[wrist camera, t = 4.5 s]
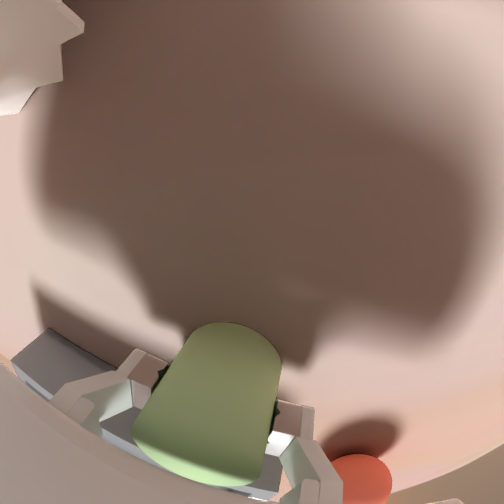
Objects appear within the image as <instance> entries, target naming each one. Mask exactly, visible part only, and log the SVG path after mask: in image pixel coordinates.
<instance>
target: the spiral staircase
mask: <svg viewBox="0 0 504 504" xmlns="http://www.w3.org/2000/svg"><path fill="white" fill-rule="evenodd" d="M84 25H85V22H84V21H83V20H82V19H81V18H80V17H79V16H77V15H76V14H75V13H74V12H73V11H72V10H71V9H70V8H69V7H67V6H66V5H65V4H64V3H63V2H62V0H0V116H2V115H9V114H18V113H19V112H20V111H21V109H22V108H23V106H24V104H25V103H26V101H27V100H28V99H29V97H30V96H31V94H32V93H33V91H34V90H35V89H36V88H37V87H41V86H44V85H48V84H52V83H56V82H60V81H63V65H62V50H61V44H62V43H64V42H66V41H68V40H70V39H72V38H74V37H76V36H78V35H80V34H82V33H84Z"/></svg>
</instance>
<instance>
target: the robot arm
mask: <svg viewBox="0 0 504 504" xmlns="http://www.w3.org/2000/svg"><path fill="white" fill-rule="evenodd" d="M169 367H170V363H168V362H166V361H164V360H161V359H159V358H157V357H155V356H153V355H151V354H149V353H146V352H144V351H142V350H140V349H138V348H136V349H135V350H133V351H132V353H131V354H130V355H129V356H128V357H127V359H126V360H125V361H124V362H123V363H122V364H121V366H120V367H119V368H118V369H117V370H116V372H115V371H113V370H112V371H108V372H105V373H101V374H98V375H94V376H91V377H87V378H84V379H80V380H76V381H73V382H69V383H65V384H64V385H63V386H62V387H61V389H60V390H59V391H58V392H57V393H56V394H55V395H54V396H53V397H52V398H51V399H50V400H49V401H48V402H47V401H46V400H44V399H43V398H42V397H41V396H39V395H38V394H37V393H36V392H35V391H33V390H32V389H31V388H30V387H29V386H27V385H26V384H25V383H24V382H23V381H22V380H21V379H19V378H18V377H17V376H16V375H15V374H14V373H13V372H12V371H11V370H10V369H9V368H8V367H6V365H4V363H2V362H1V361H0V504H342V502H343V481H342V479H341V478H340V476H339V475H338V473H337V472H336V470H335V469H334V467H333V466H332V464H331V463H330V461H329V460H328V458H327V457H326V455H325V453H324V452H323V450H322V449H321V447H320V446H319V444H318V442H317V441H316V440H313V431H314V412H315V410H314V408H313V407H308V406H304V405H300V404H296V403H291V402H287V401H283V400H279V399H277V401H276V402H275V406H274V412H273V417H272V422H271V427H270V432H269V437H268V441H267V446H266V451H265V453H266V454H270V455H274V456H278V457H279V459H280V461H281V464H282V466H283V468H284V471H285V473H286V475H287V478H288V480H289V482H290V485H291V487H292V490H291V491H289V492H288V493H287V494H286V495H284V496H283V497H282V498H280V502H273V501H268V500H263V499H258V498H253V497H249V496H244V495H240V494H236V493H232V492H229V491H225V490H221V489H218V488H215V487H211V486H208V485H205V484H202V483H199V482H196V481H193V480H190V479H187V478H185V477H182V476H179V475H177V474H174V473H172V472H169V471H167V470H164V469H162V468H160V467H157V466H155V465H153V464H150V463H148V462H146V461H144V460H142V459H140V458H138V457H136V456H133V455H131V454H129V453H128V452H126V451H124V450H122V449H120V448H118V447H116V446H114V445H112V444H111V443H109V442H107V441H105V440H104V439H102V437H103V436H104V435H103V431H102V428H101V425H100V422H101V421H103V420H105V419H107V418H110V417H112V416H114V415H116V414H118V413H121V412H123V411H125V410H127V409H129V408H131V407H133V406H134V407H137V408H139V409H141V410H142V409H143V407H144V406H145V404H146V403H147V401H148V400H149V398H150V396H151V395H152V393H153V392H154V390H155V389H156V387H157V386H158V384H159V382H160V381H161V379H162V378H163V376H164V375H165V373H166V372H167V370H168V368H169ZM427 504H464V503H463V502H462V501H460V500H459V499H448V500H444V501H439V502H434V503H427Z"/></svg>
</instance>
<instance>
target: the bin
mask: <svg viewBox="0 0 504 504" xmlns="http://www.w3.org/2000/svg"><path fill="white" fill-rule="evenodd" d="M11 362H12V365H13V367H14V369H15V372H16V374H17V376H18V378H19V379H21V380H22V381H23V382H24V383H25V384H26V385H27V386H29V387H30V388H31V389H32V390H33V391H35V392H36V393H37V394H38V395H39V396H41V397H42V398H43V399H44V400H46V401H47V402H48V401H49V400H50V399H51V398H52V397H53V396H54V395H55V394H56V393H57V392H58V391H59V390H60V389H61V387H62V386H63V385H64V384H65V383H69V382H73V381H76V380H80V379H84V378H87V377H91V376H94V375H98V374H101V373H105V372H108V371H112V370H113V371H115V372H116V370H117V368H115V367H113V366H111V365H109V364H108V363H106V362H104V361H102V360H100V359H99V358H97V357H95V356H93V355H91V354H90V353H88V352H86V351H85V350H83V349H81V348H80V347H78V346H76V345H75V344H73V343H72V342H70V341H68V340H67V339H65V338H64V337H62V336H61V335H59V334H58V333H56V332H55V331H53V330H52V329H50V328H48V329H47V330H46V331H45V332H44V333H42V334H41V335H40V336H39V337H37V338H36V339H35V340H34V341H33V342H31V343H30V344H29V345H28V346H27V347H25V348H24V349H23V350H22V351H21V352H19V353H18V354H17V355H16V356H15V357H14V358H12V359H11ZM140 412H141V409H139V408H137V407H134V406H133V407H131V408H129V409H127V410H125V411H123V412H121V413H118V414H116V415H114V416H112V417H110V418H107V419H105V420H103V421H101V422H100V425H101V428H102V431H103V435H104V436H103V437H102V439H104V440H105V441H107V442H109V443H111V444H112V445H114V446H116V447H118V448H120V449H122V450H124V451H126V452H128V453H129V454H131V455H133V456H136V457H138V458H140V459H142V460H144V461H146V462H148V463H150V464H153V465H155V466H157V467H160V468H162V469H164V470H167V471H169V472H172V471H170V470H168V469H166V468H165V467H163V466H161V465H160V464H158V463H157V462H155V461H154V460H152V459H151V458H150V457H149V456H147V455H146V454H145V453H144V452H143V451H142V450H141V449H140V448H139V447H138V445H137V444H136V443H135V441H134V439H133V437H132V434H131V427H132V425H133V423H134V421H135V420H136V418H137V417H138V415H139V414H140ZM282 468H283V466H282V464H281V461H280V459H279V457H278V456H274V455H270V454H266V453H265V455H264V460H263V464H262V469H261V473H260V476H259V478H258V479H257V480H256V481H254V482H252V483H250V484H247V485H242V486H217V485H210V484H206V483H202V484H205V485H208V486H211V487H215V488H218V489H221V490H225V491H229V492H232V493H236V494H240V495H244V496H249V497H253V498H258V499H263V500H270V499H271V498H272V497H273V496H275V495H276V494H277V493H278V490H279V485H280V480H281V474H282ZM172 473H174V472H172ZM174 474H176V473H174ZM177 475H178V474H177ZM179 476H181V475H179ZM182 477H183V476H182ZM185 478H186V477H185ZM187 479H188V478H187ZM190 480H191V479H190ZM193 481H194V480H193ZM196 482H198V481H196ZM199 483H201V482H199Z"/></svg>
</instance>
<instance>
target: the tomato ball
mask: <svg viewBox="0 0 504 504" xmlns="http://www.w3.org/2000/svg"><path fill="white" fill-rule="evenodd" d="M331 464H332V466H333V467H334V469H335V470H336V472H337V473H338V475H339V476H340V478H341V479H342V481H343V502H342V504H385V503H386V501H387V499H388V497H389V495H390V493H391V489H392V477H391V474H390V471H389V469H388V468H387V466H386V465H385V464H384V463H383V462H382V461H380V460H379V459H377V458H375V457H373V456H370V455H365V454H352V455H346V456H343V457H340V458H338V459H336V460H334V461H332V462H331Z"/></svg>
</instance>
